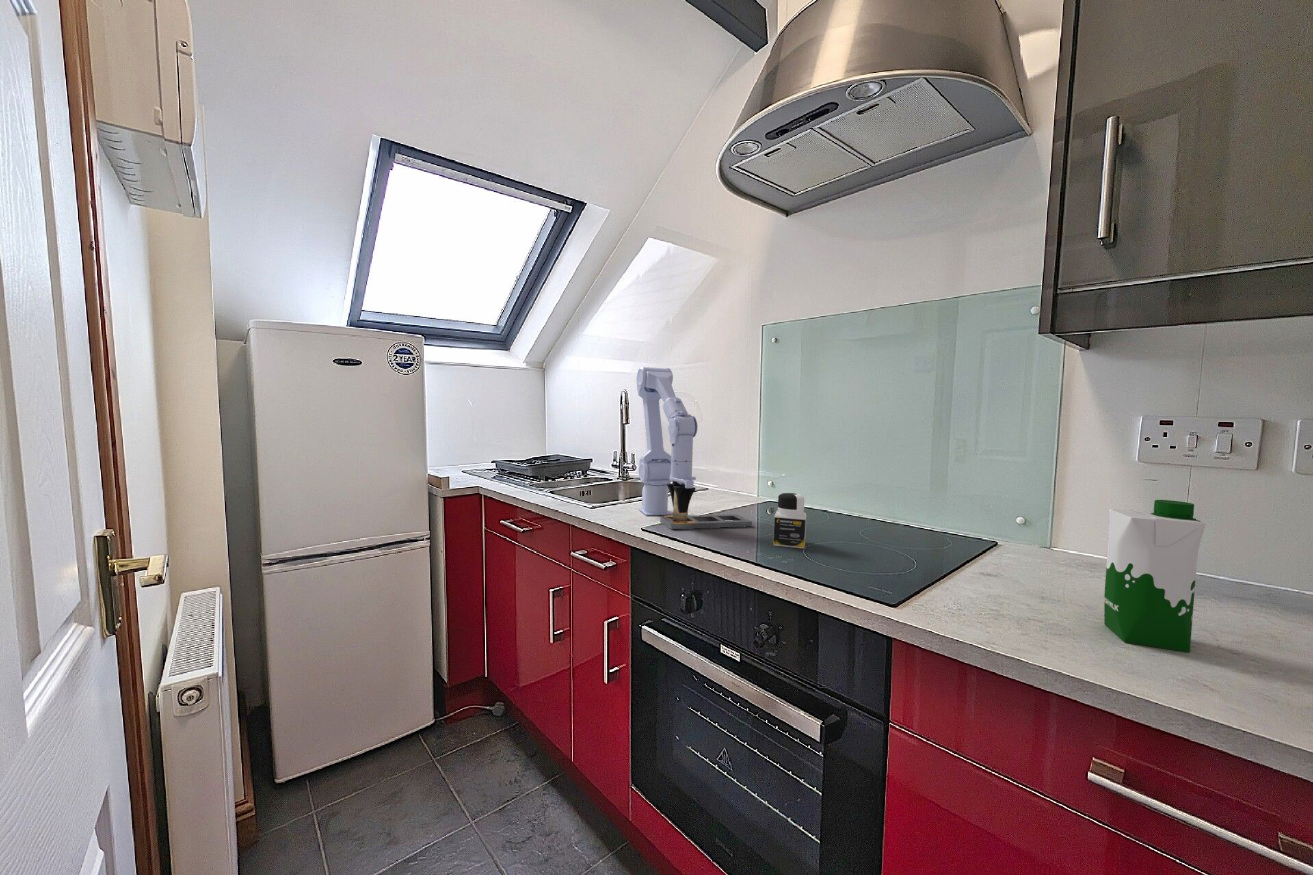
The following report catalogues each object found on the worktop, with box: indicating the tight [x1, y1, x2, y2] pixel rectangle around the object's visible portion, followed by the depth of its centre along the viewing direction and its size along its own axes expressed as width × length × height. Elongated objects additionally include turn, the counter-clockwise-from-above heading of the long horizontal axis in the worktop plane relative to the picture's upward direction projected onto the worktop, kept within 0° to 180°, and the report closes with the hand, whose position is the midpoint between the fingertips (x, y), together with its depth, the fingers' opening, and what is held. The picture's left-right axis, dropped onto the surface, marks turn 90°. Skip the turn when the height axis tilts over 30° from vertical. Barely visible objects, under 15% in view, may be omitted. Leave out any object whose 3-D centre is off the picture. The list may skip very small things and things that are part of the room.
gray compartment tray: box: [659, 513, 753, 530], centre depth 143 cm, size 10×23×2 cm, turn 106°
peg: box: [672, 492, 689, 521], centre depth 141 cm, size 4×4×8 cm
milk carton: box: [1103, 499, 1206, 653], centre depth 75 cm, size 9×9×20 cm
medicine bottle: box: [772, 492, 807, 549], centre depth 125 cm, size 7×7×12 cm
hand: (680, 510), depth 141 cm, fingers closed on peg, 4 cm apart
